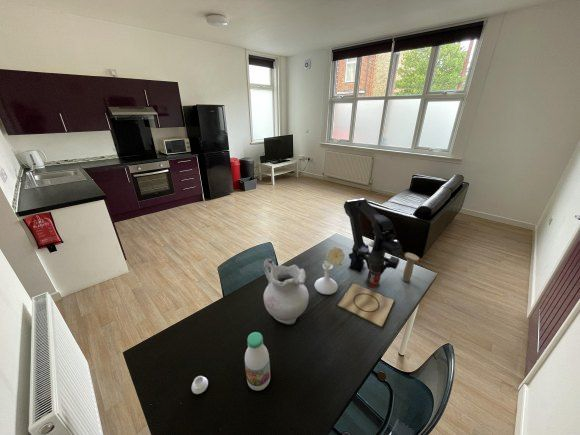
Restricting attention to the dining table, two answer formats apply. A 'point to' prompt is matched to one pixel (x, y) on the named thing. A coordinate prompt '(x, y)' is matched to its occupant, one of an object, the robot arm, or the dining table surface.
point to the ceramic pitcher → (285, 292)
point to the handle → (409, 266)
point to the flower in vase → (326, 283)
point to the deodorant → (374, 275)
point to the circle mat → (367, 304)
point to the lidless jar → (199, 384)
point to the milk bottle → (257, 362)
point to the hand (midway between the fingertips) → (375, 271)
